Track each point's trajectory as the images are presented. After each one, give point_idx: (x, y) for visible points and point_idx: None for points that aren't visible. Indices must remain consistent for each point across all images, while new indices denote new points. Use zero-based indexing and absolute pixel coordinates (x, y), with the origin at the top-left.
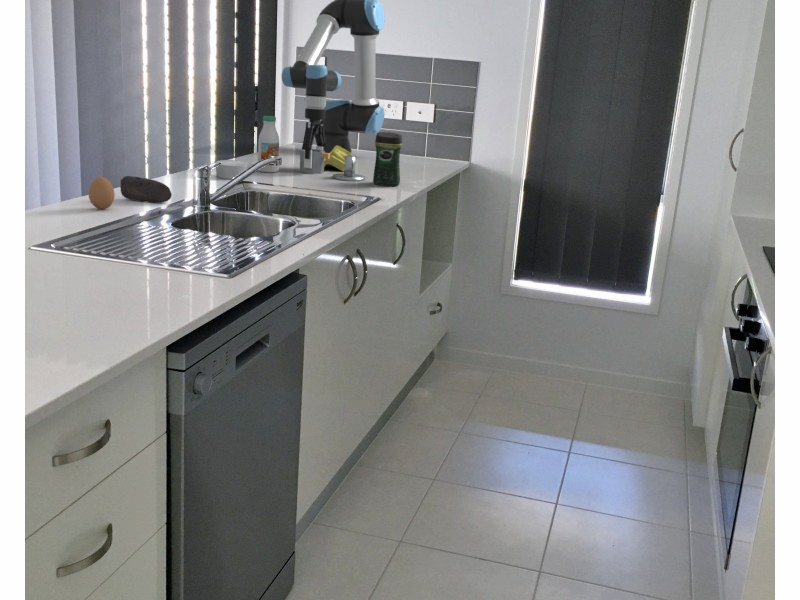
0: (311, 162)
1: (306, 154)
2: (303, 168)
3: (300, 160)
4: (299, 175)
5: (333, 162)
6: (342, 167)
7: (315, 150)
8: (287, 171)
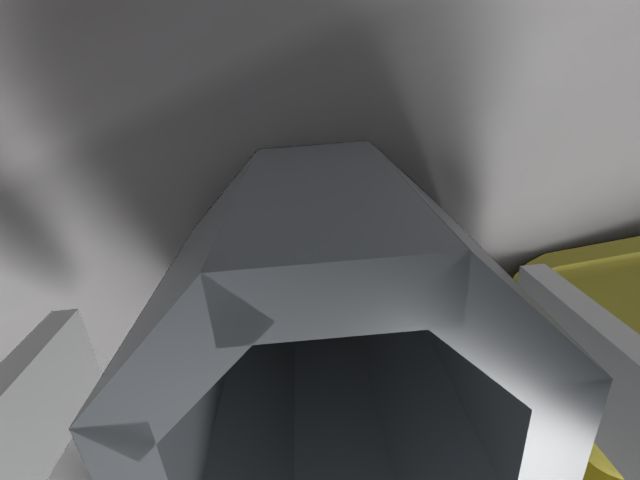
0: (65, 436)
1: None
2: (188, 239)
3: (230, 198)
4: (9, 256)
5: None
6: None
7: (513, 450)
8: (122, 23)
